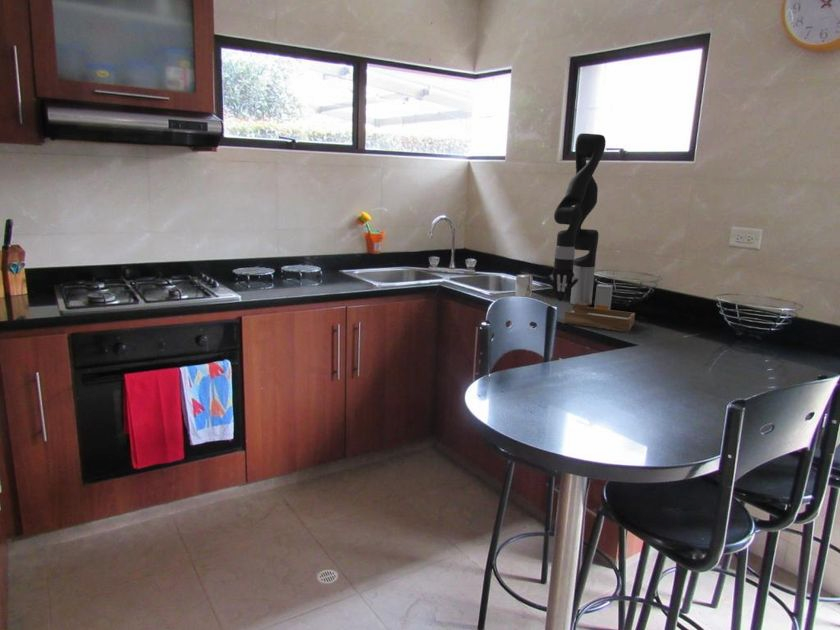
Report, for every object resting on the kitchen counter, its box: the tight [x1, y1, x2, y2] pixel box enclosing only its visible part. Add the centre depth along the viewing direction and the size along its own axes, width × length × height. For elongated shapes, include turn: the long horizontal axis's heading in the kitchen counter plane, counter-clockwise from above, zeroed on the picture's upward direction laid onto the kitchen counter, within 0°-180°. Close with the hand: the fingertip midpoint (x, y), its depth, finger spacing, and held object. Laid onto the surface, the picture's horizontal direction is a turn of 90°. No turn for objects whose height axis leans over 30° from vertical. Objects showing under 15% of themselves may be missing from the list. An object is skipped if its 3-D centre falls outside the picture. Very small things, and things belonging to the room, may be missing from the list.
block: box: [574, 302, 589, 314], centre depth 244 cm, size 4×4×4 cm
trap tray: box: [563, 304, 636, 333], centre depth 238 cm, size 14×24×4 cm, turn 64°
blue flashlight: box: [514, 274, 533, 298], centre depth 255 cm, size 7×7×15 cm
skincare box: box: [593, 283, 614, 310], centre depth 256 cm, size 6×4×12 cm
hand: (560, 300), depth 246 cm, fingers closed
